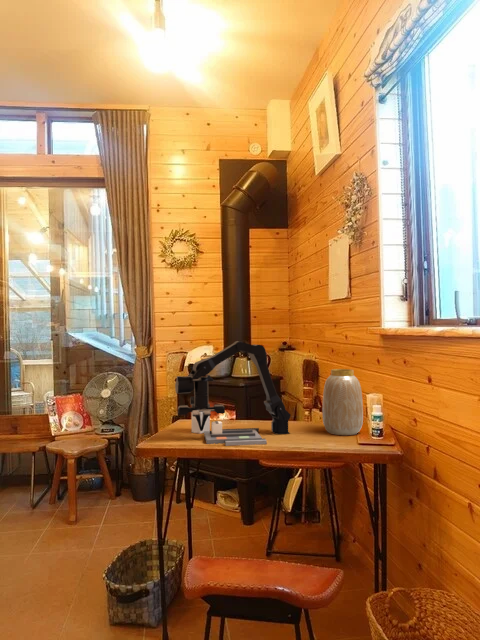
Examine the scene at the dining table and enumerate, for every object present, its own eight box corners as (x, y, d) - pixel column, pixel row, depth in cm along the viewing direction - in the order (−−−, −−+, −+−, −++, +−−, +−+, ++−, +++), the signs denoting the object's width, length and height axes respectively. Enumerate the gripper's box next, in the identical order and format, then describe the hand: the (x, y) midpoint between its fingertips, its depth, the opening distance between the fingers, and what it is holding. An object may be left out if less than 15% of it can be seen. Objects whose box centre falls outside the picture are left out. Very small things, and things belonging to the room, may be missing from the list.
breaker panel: (255, 432, 194) (255, 427, 194) (262, 441, 179) (262, 435, 179) (204, 434, 191) (204, 428, 191) (206, 444, 175) (206, 437, 175)
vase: (366, 429, 200) (365, 369, 201) (359, 438, 184) (358, 372, 185) (327, 426, 207) (327, 367, 208) (318, 434, 192) (317, 370, 192)
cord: (258, 431, 198) (258, 428, 198) (258, 431, 196) (258, 428, 196) (217, 432, 195) (217, 429, 195) (217, 433, 194) (217, 430, 194)
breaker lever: (221, 433, 186) (221, 420, 187) (222, 435, 182) (222, 422, 182) (211, 433, 186) (211, 421, 186) (212, 436, 182) (212, 423, 182)
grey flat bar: (264, 442, 178) (264, 438, 178) (266, 444, 175) (266, 440, 175) (224, 443, 176) (224, 440, 176) (225, 445, 173) (225, 441, 173)
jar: (196, 434, 192) (196, 406, 192) (187, 430, 199) (187, 403, 199) (214, 431, 197) (214, 404, 197) (205, 428, 204) (205, 401, 204)
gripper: (222, 389, 193) (222, 425, 192) (178, 390, 190) (178, 427, 190) (224, 392, 182) (225, 431, 181) (178, 393, 179) (178, 433, 179)
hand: (201, 430), depth 183 cm, fingers closed
